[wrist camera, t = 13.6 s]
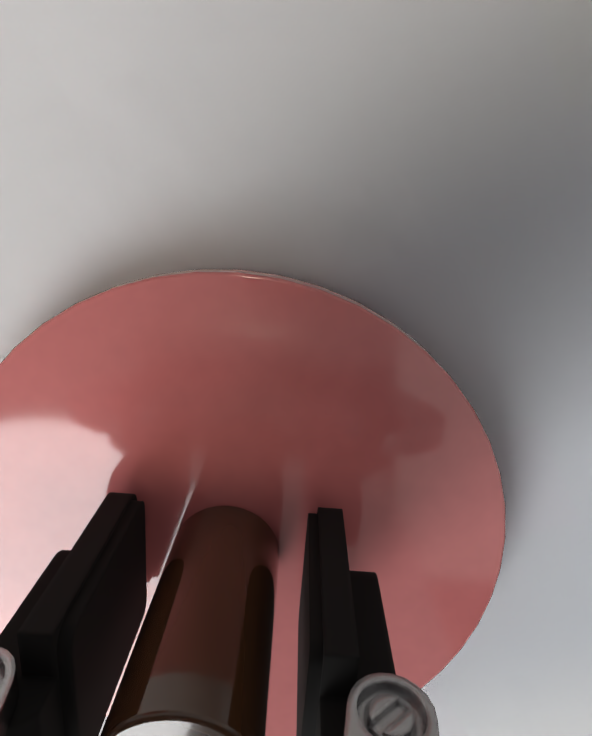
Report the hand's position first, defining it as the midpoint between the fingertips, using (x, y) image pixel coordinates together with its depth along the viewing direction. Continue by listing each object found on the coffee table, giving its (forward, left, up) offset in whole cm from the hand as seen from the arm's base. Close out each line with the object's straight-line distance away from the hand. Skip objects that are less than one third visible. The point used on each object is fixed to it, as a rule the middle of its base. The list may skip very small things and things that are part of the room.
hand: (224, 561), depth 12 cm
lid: (0, 0, -1) cm, 1 cm away
